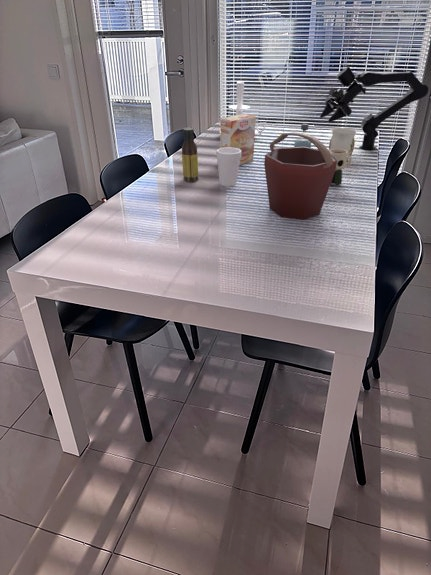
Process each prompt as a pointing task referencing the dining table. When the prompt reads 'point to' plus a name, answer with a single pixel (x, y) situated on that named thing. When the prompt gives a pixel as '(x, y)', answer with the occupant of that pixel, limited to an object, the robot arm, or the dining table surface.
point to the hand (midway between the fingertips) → (324, 119)
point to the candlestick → (241, 107)
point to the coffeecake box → (239, 135)
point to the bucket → (298, 178)
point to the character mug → (339, 164)
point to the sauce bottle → (189, 156)
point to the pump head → (304, 127)
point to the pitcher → (343, 140)
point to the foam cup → (228, 165)
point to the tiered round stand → (302, 143)
